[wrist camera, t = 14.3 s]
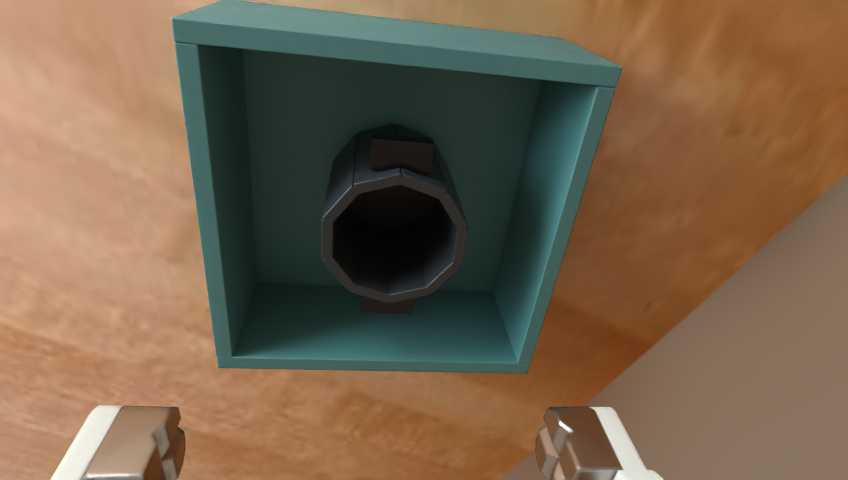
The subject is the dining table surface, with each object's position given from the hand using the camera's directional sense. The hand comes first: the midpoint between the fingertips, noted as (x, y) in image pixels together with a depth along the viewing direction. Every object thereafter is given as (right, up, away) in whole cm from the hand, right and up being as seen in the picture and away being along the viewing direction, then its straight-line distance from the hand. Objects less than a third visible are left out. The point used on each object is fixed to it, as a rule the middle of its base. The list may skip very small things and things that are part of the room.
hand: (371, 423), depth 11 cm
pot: (-1, +8, +17) cm, 18 cm away
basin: (-1, +8, +17) cm, 19 cm away
